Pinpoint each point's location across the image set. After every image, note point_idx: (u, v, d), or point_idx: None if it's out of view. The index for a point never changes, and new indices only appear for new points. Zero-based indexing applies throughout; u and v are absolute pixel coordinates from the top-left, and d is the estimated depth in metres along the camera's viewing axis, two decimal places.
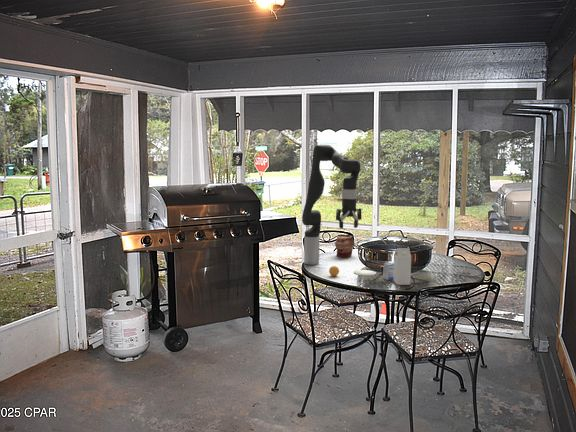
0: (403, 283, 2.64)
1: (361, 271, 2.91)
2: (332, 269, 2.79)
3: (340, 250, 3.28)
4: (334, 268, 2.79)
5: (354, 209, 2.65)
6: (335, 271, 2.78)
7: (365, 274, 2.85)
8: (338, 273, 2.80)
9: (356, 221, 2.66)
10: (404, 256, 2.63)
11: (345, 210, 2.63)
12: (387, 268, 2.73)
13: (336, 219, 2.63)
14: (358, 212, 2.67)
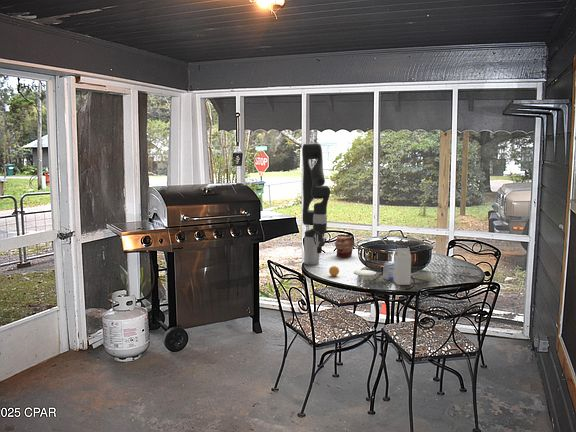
0: (403, 283, 2.64)
1: (361, 271, 2.91)
2: (332, 269, 2.79)
3: (340, 250, 3.28)
4: (334, 268, 2.79)
5: None
6: (335, 271, 2.78)
7: (365, 274, 2.85)
8: (338, 273, 2.80)
9: None
10: (404, 256, 2.63)
11: None
12: (387, 268, 2.73)
13: (320, 245, 2.72)
14: None
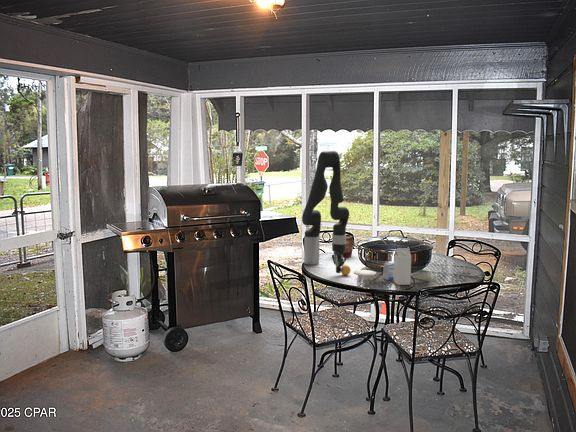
0: (403, 283, 2.64)
1: (361, 271, 2.91)
2: (349, 268, 2.82)
3: None
4: (350, 270, 2.82)
5: None
6: (348, 270, 2.81)
7: (365, 274, 2.85)
8: (343, 273, 2.81)
9: None
10: (404, 256, 2.63)
11: None
12: (387, 268, 2.73)
13: (340, 265, 2.78)
14: None
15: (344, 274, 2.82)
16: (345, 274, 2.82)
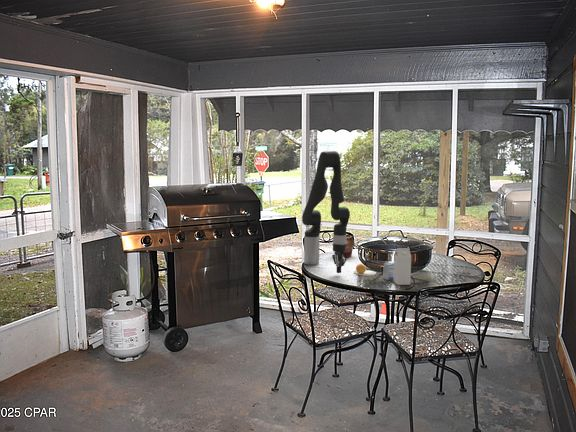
0: (403, 283, 2.64)
1: None
2: (359, 270, 2.85)
3: None
4: (359, 268, 2.84)
5: None
6: (362, 270, 2.84)
7: (365, 274, 2.85)
8: (365, 267, 2.86)
9: (340, 266, 2.82)
10: (404, 256, 2.63)
11: None
12: (387, 268, 2.73)
13: (340, 265, 2.78)
14: None
15: None
16: (364, 266, 2.86)
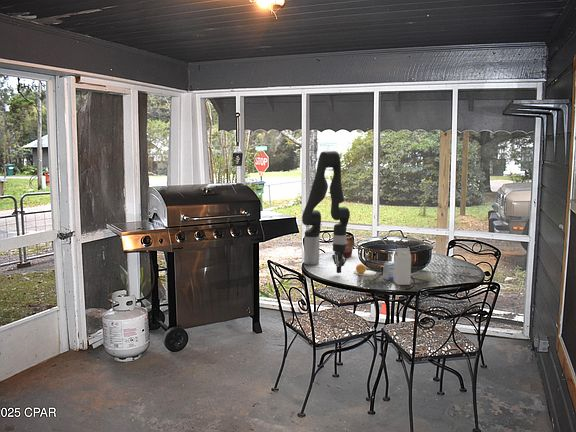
0: (403, 283, 2.64)
1: None
2: (359, 270, 2.85)
3: None
4: (359, 268, 2.84)
5: None
6: (362, 270, 2.84)
7: (365, 274, 2.85)
8: (365, 267, 2.86)
9: (340, 266, 2.82)
10: (404, 256, 2.63)
11: None
12: (387, 268, 2.73)
13: (340, 265, 2.78)
14: None
15: None
16: (364, 266, 2.86)
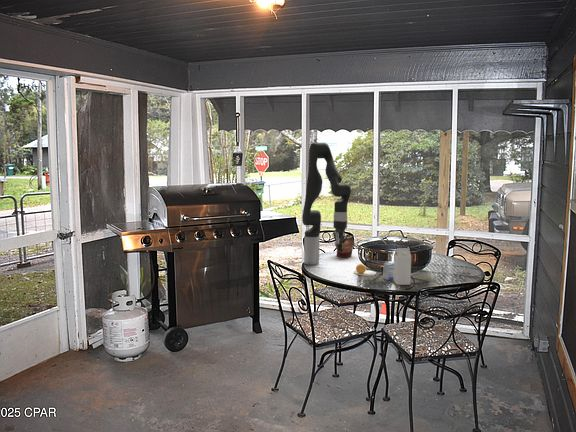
0: (403, 283, 2.64)
1: None
2: (359, 270, 2.85)
3: (340, 250, 3.28)
4: (359, 268, 2.84)
5: None
6: (362, 270, 2.84)
7: (365, 274, 2.85)
8: (365, 267, 2.86)
9: None
10: (404, 256, 2.63)
11: None
12: (387, 268, 2.73)
13: (341, 242, 2.77)
14: None
15: None
16: (364, 266, 2.86)
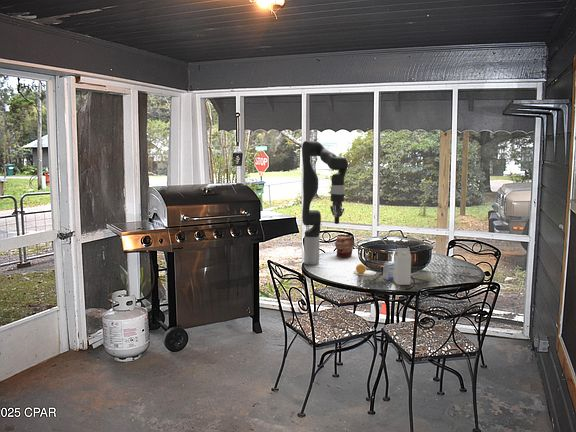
0: (403, 283, 2.64)
1: None
2: (359, 270, 2.85)
3: (340, 250, 3.28)
4: (359, 268, 2.84)
5: None
6: (362, 270, 2.84)
7: (365, 274, 2.85)
8: (365, 267, 2.86)
9: None
10: (404, 256, 2.63)
11: None
12: (387, 268, 2.73)
13: (338, 215, 2.78)
14: None
15: None
16: (364, 266, 2.86)
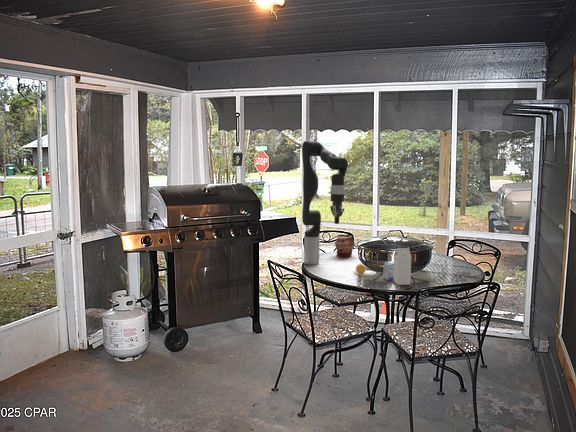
0: (403, 283, 2.64)
1: None
2: (359, 270, 2.85)
3: (340, 250, 3.28)
4: (359, 268, 2.84)
5: None
6: (362, 270, 2.84)
7: (365, 274, 2.85)
8: (365, 267, 2.86)
9: None
10: (404, 256, 2.63)
11: None
12: (387, 268, 2.73)
13: (338, 215, 2.78)
14: None
15: None
16: (364, 266, 2.86)
